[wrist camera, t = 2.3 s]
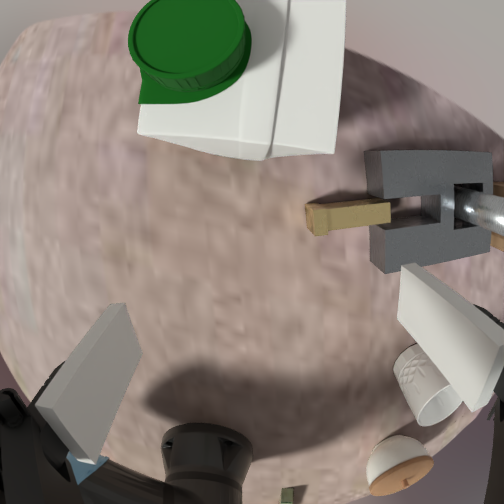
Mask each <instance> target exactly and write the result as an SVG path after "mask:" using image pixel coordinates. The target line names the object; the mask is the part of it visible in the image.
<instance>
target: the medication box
mask: <svg viewBox="0 0 504 504" xmlns="http://www.w3.org/2000/svg"><path fill="white" fill-rule="evenodd" d="M293 497H294V488H282V491H281V495H280V500H279V504H293Z"/></svg>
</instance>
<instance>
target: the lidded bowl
mask: <svg viewBox="0 0 504 504" xmlns="http://www.w3.org/2000/svg"><path fill="white" fill-rule="evenodd" d="M433 464H434V461H433V459H432V457H431V456H430V455H429V453H428V451H427V450H426V448H425V447H424V446H423V445H422V444H421V443H420V442H419V441H418V440H416V439H414V438H412V437H407V436H403V435H395V436H392V437H389V438H387V439H385V440H383V441H381V442H380V443H379V444H377V445H376V446H375V447H374V449H373V450H372V454H371V455H370V457H369V459H368V462H367V466H366V475H367V481H368V484H369V489H370V492H371V494H372V495H374V496H382V495H388V494H392V493H395V492H398V491H400V490H402V489H406V488H408V487H409V486H410V485H412V484H414V483H415V482H417V481H418V480H420V479H421V478H422V477H424V476H425V475H426V474H427V473H428V472H429V471H430V470H431V468H432V467H433Z"/></svg>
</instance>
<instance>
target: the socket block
mask: <svg viewBox="0 0 504 504" xmlns="http://www.w3.org/2000/svg"><path fill="white" fill-rule="evenodd" d="M364 157H365V167H366V179H367V192H368V194H370V195H373V196H376V197H379V198H382V199H391V198H401V197H413V196H421V215H418V216H410V217H402V218H394V219H391V223H383V224H375V225H369V233H370V261H371V262H372V263H373V264H374V265H375V266H376V267H378V268H379V269H380V270H381V271H382V272H383V273H384V274H387V273H393V272H398V271H401V265H405V264H411V263H416V264H418V265H419V266H421V267H423V266H428V265H433V264H437V263H442V262H447V261H451V260H456V259H460V258H465V257H469V256H473V255H478V254H482V253H486V252H490V244H491V232H492V231H490V230H487V229H485V228H482V227H480V226H477V225H474V224H472V223H469V222H467V221H464V220H461V219H454V184H461V183H463V188H466V189H470V190H475V191H479V192H483V193H487V194H491V195H493V166H492V153H490V152H475V151H453V150H386V151H364Z"/></svg>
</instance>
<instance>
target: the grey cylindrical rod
mask: <svg viewBox="0 0 504 504" xmlns="http://www.w3.org/2000/svg"><path fill="white" fill-rule="evenodd" d="M454 217H456V218H458V219H461V220H464V221H467V222H469V223H472V224H474V225H477V226H480V227H482V228H485V229H487V230H490V231H492V232H495V233H497V234H499V235H502V236H504V198H503V197H499V196H495V195H491V194H487V193H483V192H479V191H475V190H470V189H466V188H461V187H457V186H454Z"/></svg>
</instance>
